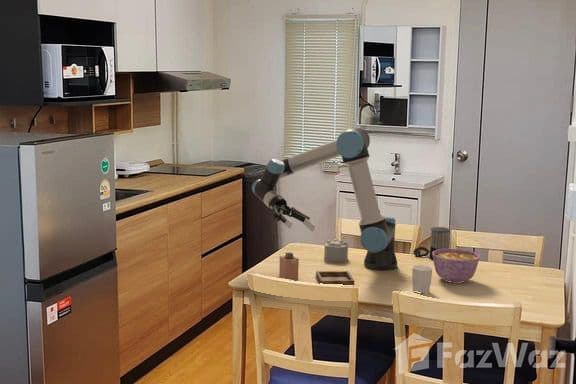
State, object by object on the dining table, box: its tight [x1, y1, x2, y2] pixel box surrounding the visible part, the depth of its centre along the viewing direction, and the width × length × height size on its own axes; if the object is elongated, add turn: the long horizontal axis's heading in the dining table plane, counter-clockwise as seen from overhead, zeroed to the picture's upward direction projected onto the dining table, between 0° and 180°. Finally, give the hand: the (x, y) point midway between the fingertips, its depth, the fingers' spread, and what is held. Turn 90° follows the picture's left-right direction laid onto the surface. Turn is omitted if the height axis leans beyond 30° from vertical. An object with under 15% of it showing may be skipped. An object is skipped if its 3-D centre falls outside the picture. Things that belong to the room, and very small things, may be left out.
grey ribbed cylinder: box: [413, 226, 451, 261], centre depth 344 cm, size 14×16×15 cm
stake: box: [284, 252, 294, 259], centre depth 305 cm, size 2×2×11 cm
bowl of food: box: [432, 248, 481, 282], centre depth 308 cm, size 20×20×12 cm
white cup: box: [411, 264, 433, 294], centre depth 291 cm, size 8×8×10 cm
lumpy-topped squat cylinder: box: [323, 238, 349, 263], centre depth 339 cm, size 10×13×9 cm
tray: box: [315, 270, 355, 286], centre depth 303 cm, size 14×14×2 cm
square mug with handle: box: [278, 255, 300, 281], centre depth 305 cm, size 6×8×9 cm
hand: (302, 227), depth 305 cm, fingers open, 13 cm apart
